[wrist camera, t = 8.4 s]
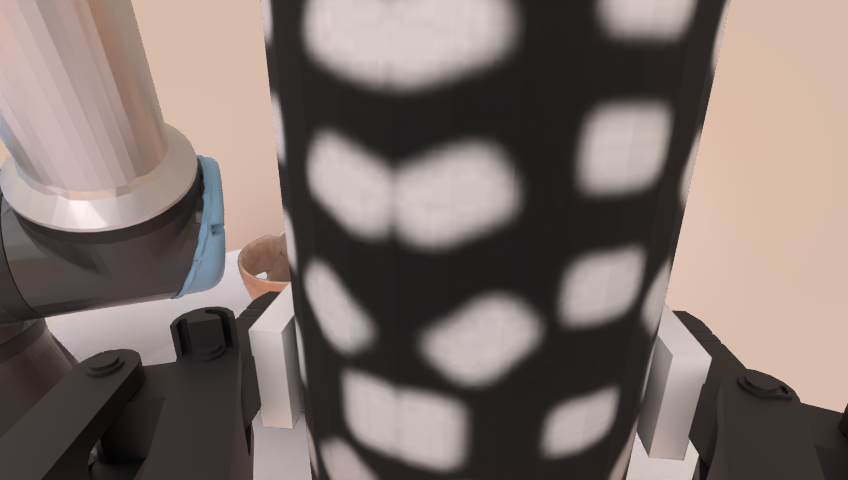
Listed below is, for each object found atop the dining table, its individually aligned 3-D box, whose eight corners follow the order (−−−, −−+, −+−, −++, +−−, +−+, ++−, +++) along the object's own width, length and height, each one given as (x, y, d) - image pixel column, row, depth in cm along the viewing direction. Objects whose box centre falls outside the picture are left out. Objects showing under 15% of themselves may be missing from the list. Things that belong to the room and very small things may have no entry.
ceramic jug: (211, 373, 46) (185, 246, 40) (325, 317, 56) (317, 210, 50) (319, 475, 35) (303, 318, 29) (436, 382, 45) (441, 253, 40)
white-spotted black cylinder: (493, 484, 20) (534, -6, 14) (640, 706, 13) (886, -95, 6) (310, 555, 17) (241, -32, 10) (372, 892, 10) (282, -260, 3)
